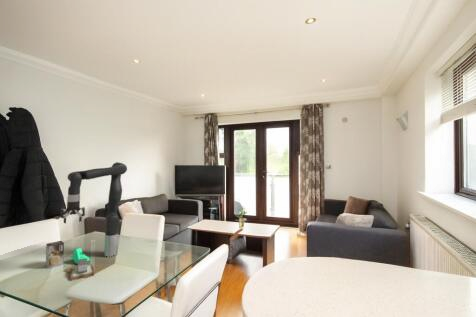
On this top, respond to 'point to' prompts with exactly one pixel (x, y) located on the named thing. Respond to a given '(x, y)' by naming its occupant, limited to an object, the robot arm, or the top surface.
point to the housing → (82, 265)
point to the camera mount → (79, 255)
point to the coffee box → (54, 254)
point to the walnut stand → (75, 275)
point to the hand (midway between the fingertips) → (72, 222)
